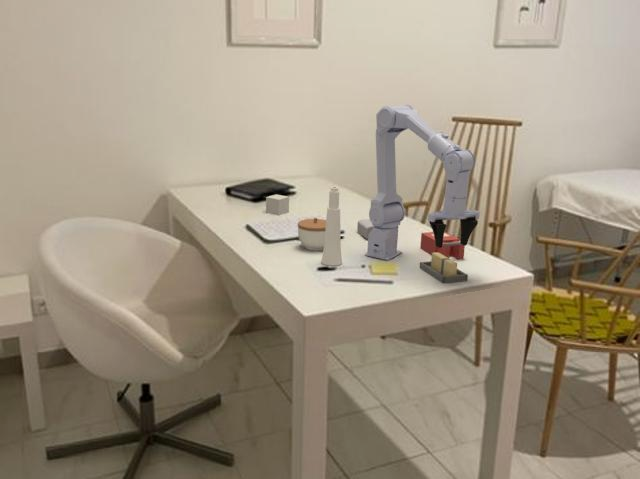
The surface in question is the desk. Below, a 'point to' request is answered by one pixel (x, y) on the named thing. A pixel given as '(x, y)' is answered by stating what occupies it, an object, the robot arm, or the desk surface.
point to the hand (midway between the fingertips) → (451, 245)
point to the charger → (364, 227)
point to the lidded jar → (312, 233)
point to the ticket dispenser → (448, 248)
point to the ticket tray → (444, 279)
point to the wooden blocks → (443, 264)
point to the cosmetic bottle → (332, 231)
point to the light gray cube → (277, 204)
